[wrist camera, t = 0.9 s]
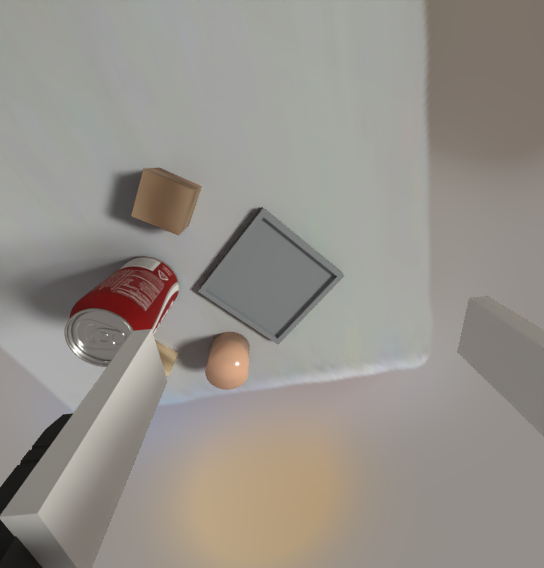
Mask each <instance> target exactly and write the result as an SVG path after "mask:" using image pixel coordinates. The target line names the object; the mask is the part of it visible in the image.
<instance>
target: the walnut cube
mask: <svg viewBox="0 0 544 568" xmlns="http://www.w3.org/2000/svg"><path fill="white" fill-rule="evenodd" d="M201 187H202V186H200V185H197V184H195V183H193V182H191V181H188V180H186V179H184V178H182V177H179V176H177V175H175V174H173V173H170V172H168V171H166V170H164V169H161V168H148V169H143V172H142V176H141V180H140V184H139V188H138V192H137V196H136V199H135V203H134V207H133V211H132V215H131V216H132V217H134V218H137V219H139V220H142V221H144V222H147V223H149V224H152V225H154V226H157V227H159V228H162V229H164V230H167V231H169V232H172V233H174V234H176V235H179V234H180V233H181V232H182V231H183V230H184V229H186V228H187V227H188V226H189V223H190V220H191V217H192V214H193V211H194V208H195V205H196V202H197V199H198V196H199V193H200V190H201Z"/></svg>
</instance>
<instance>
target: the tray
mask: <svg viewBox="0 0 544 568" xmlns="http://www.w3.org/2000/svg"><path fill="white" fill-rule="evenodd" d="M343 277H344V274H343V273H342V272H341V271H340V270H339V269H337V268H336V267H335V266H334V265H333V264H331V263H330V262H329V261H328V260H326V259H325V258H324V257H323V256H322V255H320V254H319V253H318V252H317V251H315V250H314V249H313V248H312V247H311V246H309V245H308V244H307V243H306V242H304V241H303V240H302V239H301V238H300V237H298V236H297V235H296V234H295V233H293V232H292V231H291V230H290V229H289V228H287V227H286V226H285V225H284V224H282V223H281V222H280V221H279V220H278V219H276V218H275V217H274V216H273V215H271V214H270V213H269V212H268V211H267V210H265V209H264V208H263V207H262V209H261V210H260V211H259V213H258V214H257V215H256V216H255V218H254V219H253V220H252V222H251V223H250V224H249V225H248V227H247V228H246V229H245V231H244V232H243V233H242V234H241V236H240V237H239V238H238V240H237V241H236V242H235V243H234V245H233V246H232V247H231V249H230V250H229V251H228V252H227V254H226V255H225V256H224V258H223V259H222V260H221V261H220V263H219V264H218V265H217V267H216V268H215V269H214V270H213V272H212V273H211V274H210V275H209V277H208V278H207V279H206V281H205V282H204V283H203V284H202V286H201V287H200V289H199V291H198V292H199V293H201V294H202V295H204V296H205V297H207V298H208V299H210V300H211V301H213V302H214V303H216V304H217V305H219V306H220V307H222V308H223V309H225V310H226V311H228V312H229V313H231V314H232V315H234V316H235V317H237V318H238V319H240V320H242V321H243V322H245V323H246V324H248V325H249V326H251V327H252V328H254V329H255V330H257V331H258V332H260V333H261V334H263V335H264V336H266V337H267V338H269V339H270V340H272V341H273V342H275V343H276V344H279V343H280V342H281V341H282V340H283V339H284V338H285V337H286V336H287V335H288V334H289V333H290V332H291V331H292V330H293V329H294V328H295V327H296V325H297V324H298V323H299V322H300V321H301V320H302V319H303V318H304V317H305V316H306V315H307V314H308V313H309V312H310V311H311V310H312V309H313V308H314V307H315V306H316V305H317V304H318V303H319V302H320V301H321V300H322V299H323V297H324V296H325V295H326V294H327V293H328V292H329V291H330V290H331V289H332V288H333V287H334V286H335V285H336V284H337V283H338V282H339V281H340V280H341V279H342V278H343Z"/></svg>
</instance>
